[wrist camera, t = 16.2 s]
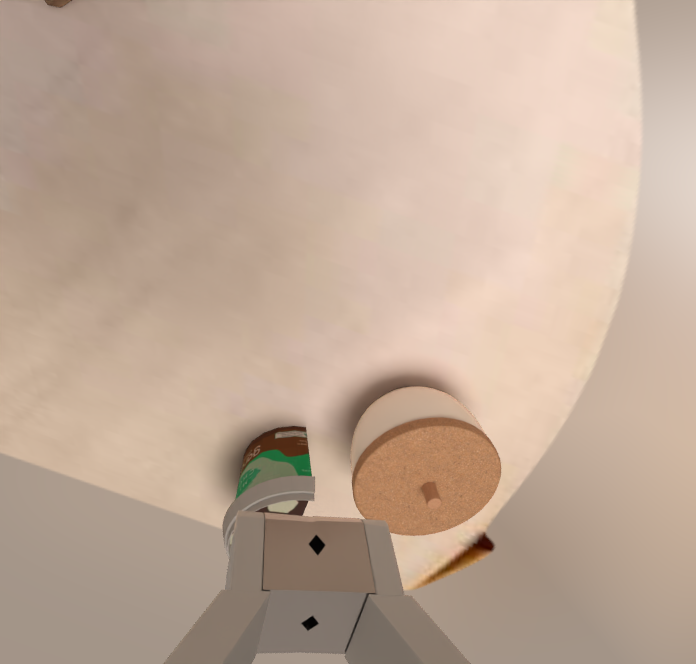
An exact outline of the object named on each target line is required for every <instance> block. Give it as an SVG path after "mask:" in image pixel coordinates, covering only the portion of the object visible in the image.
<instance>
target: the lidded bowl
mask: <svg viewBox="0 0 696 664" xmlns="http://www.w3.org/2000/svg"><path fill="white" fill-rule="evenodd" d="M351 472H352V489H353V497H354V501H355V504H356V506H357V508H358V510H359V511H360V513H361V514H362V516H363V517H364V518H365V519H370V520H385V521H386V523H387V524H388V526H389V531H390V532H391V533H394V534H399V535H411V536H415V535H427V534H433V533H438V532H441V531H445V530H448V529H450V528H453V527H455V526H457V525H459V524H461V523H463V522H465V521H467V520H468V519H470V518H471V517H473V516H474V515H475V514H477V513H478V512H479V511H480V510H481V509H482V508H483V507H484V506H485V505H486V504H487V503H488V502H489V500H490V499H491V498H492V496H493V495H494V493H495V491H496V489H497V486H498V483H499V480H500V476H501V463H500V458H499V456H498V453H497V451H496V449H495V447H494V445H493V444H492V442H491V441H490V439H489V438H488V437H487V436H486V434H485V432H484V431H483V429H482V427H481V426H480V424H479V423H478V421H477V420H476V418H475V417H474V416H473V415H472V413H471V412H470V411H469V410H468V409H467V408H466V407H465V406H464V405H463V404H462V403H461V402H459V401H458V400H456V399H455V398H454V397H452V396H450V395H449V394H447V393H444V392H442V391H440V390H436V389H433V388H429V387H421V386H413V387H404V388H399V389H395V390H393V391H390V392H388V393H387V394H385V395H383V396H382V397H380V398H379V399H377V400H376V401H375V402H373V403H372V404H371V405H370V406H369V407H368V409H367V410H366V411H365V412H364V414H363V415H362V417H361V418H360V420H359V422H358V424H357V426H356V429H355V431H354V435H353V439H352V445H351Z"/></svg>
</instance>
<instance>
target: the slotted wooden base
mask: <svg viewBox="0 0 696 664" xmlns="http://www.w3.org/2000/svg"><path fill="white" fill-rule="evenodd" d="M70 1H72V0H45V2H46V3H47V5H51V6H56V7H63V6H64V5H66V4H67V3H69V2H70Z"/></svg>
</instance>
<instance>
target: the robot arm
mask: <svg viewBox="0 0 696 664" xmlns="http://www.w3.org/2000/svg"><path fill="white" fill-rule="evenodd" d="M293 652H305V653H333V654H345V658H346V660H347V661H348V663H349V664H470V662H469V661H468V660H467V659H466V658H465V657H464V655H463V654H462V653H461V652H460V651H459V650H458V649H457V647H456V646H455V645H454V644H453V643H452V642H451V641H450V639H449V638H448V637H447V636H446V635H445V634H444V633H443V631H442V630H441V629H440V628H439V627H438V626H437V624H436V623H435V622H434V621H433V620H432V619H431V618H430V616H429V615H428V614H427V613H426V612H425V611H424V610H423V608H421V606H420V605H419V604H418V603H417V601H416V600H415V599H414V598H413V597H412V596H406V595H404V591H403V587H402V582H401V578H400V574H399V569H398V565H397V561H396V557H395V552H394V548H393V544H392V539H391V535H390V531H389V526H388V524H387V523H386V521H385V520H370V519H359V518H341V517H321V516H313V517H309V516H298V515H287V514H276V513H262V512H250V511H238V512H237V516H236V521H235V527H234V533H233V538H232V544H231V549H230V556H229V563H228V569H227V576H226V585H225V590H221V591H220V592H219V594H218V595H217V596H216V598H215V599H214V600H213V601H212V603H211V604H210V605H209V607H208V608H207V609H206V611H204V613H203V614H202V615H201V617H200V618H199V619H198V620H197V622H196V623H195V624H194V625H193V627H192V628H191V629H190V630H189V632H188V633H187V634H186V636H185V637H184V638H183V639H182V641H181V642H180V643H179V644H178V646H177V647H176V648H175V649H174V651H173V652H172V653H171V655H170V656H169V657H168V658H167V660H166V661H165V662H164V663H163V664H251V663H252V662H253V660H254V658H255V656H256V653H293Z"/></svg>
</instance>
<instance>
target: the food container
mask: <svg viewBox="0 0 696 664" xmlns="http://www.w3.org/2000/svg"><path fill="white" fill-rule="evenodd" d="M314 493H315V477H312V474H311V466H310V457H309V449H308V441H307V433H306V427H297V426H291V427H281V428H276V429H273V430H271V431H268V432H265V433H263V434H262V435H260V436H259V437H258V438H256V439H255V440H253V441H252V442H251V444H250V445H249V446H248V448H247V449H246V452H245V454H244V459H243V464H242V469H241V474H240V479H239V484H238V489H237V494H236V499H235V501H234V502H233V503H232V504H231V506H230V507H229V509H228V510H227V512H226V515H225V517H224V521H223V537H224V544H225V549H226V553H227V555H228V557H229V556H230V549H231V544H232V538H233V533H234V527H235V521H236V516H237V512H238V511H250V512H262V513H276V514H287V515H298V516H302V515H303V513H304V510H305V508H306V505H307V503H308V501H314Z"/></svg>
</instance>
